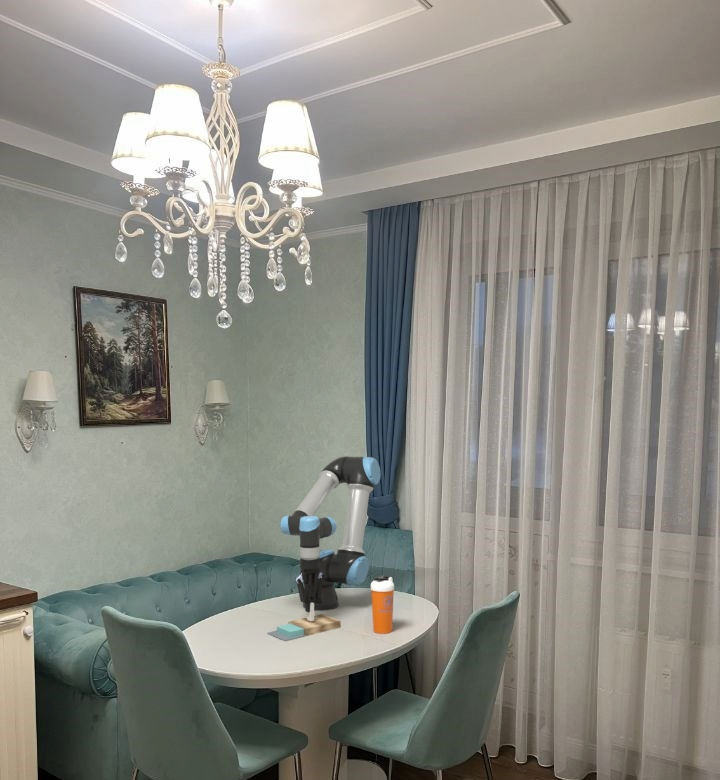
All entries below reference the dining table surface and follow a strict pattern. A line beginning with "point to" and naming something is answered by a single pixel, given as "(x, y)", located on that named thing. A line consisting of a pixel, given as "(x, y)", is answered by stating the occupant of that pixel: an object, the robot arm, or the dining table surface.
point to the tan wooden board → (317, 624)
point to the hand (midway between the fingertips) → (310, 620)
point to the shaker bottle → (382, 604)
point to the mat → (283, 636)
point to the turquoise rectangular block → (290, 630)
